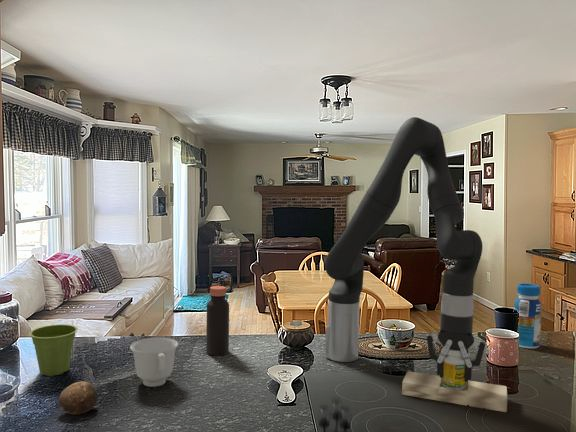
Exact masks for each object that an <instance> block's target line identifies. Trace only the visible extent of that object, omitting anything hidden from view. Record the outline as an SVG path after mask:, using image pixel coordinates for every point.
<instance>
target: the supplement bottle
mask: <svg viewBox="0 0 576 432" xmlns="http://www.w3.org/2000/svg"><path fill="white" fill-rule="evenodd" d="M465 371H466V362H465V359H464V358H463V355H462V352H461V351H458V350H451V349H449V350H448V352H447V354H446V356H445V357H444V359H443V386H444V387H445V388H450V389H456V390H462V389H464V388H465Z"/></svg>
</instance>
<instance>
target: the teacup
mask: <svg viewBox="0 0 576 432" xmlns="http://www.w3.org/2000/svg"><path fill="white" fill-rule="evenodd" d="M178 346H179V342H178V341H177V340H175V339H173V338H169V337H150V338H149V337H148V338H143V339H138V340H136V341H134V342H133V343H132V344H131V345H130V346H129V349H130V350H131V351H132V354H133V360H134V368H135V372H136V375H137V377H138V378H140V379H141V380H142V381H143V382H142V384H143V385H144V386H145V387H150V388H152V387H153V388H154V387H155V388H156V387H160V386H163V385H164V384H165V383H166V381H167V378H168V377H169V376H170V375H171V374H172V371H173V369H174V364H175V354H176V350H177V347H178Z"/></svg>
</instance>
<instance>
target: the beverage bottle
mask: <svg viewBox="0 0 576 432" xmlns="http://www.w3.org/2000/svg"><path fill="white" fill-rule="evenodd" d="M516 287H517V288H516V289H517V290H516V293H517V295H518V297H516V299H515V301H514V304H513V305H514V309H513V311H514V310H517V312H518V313H519V318H518V319H519V322H518V332H519V346H518V347H519V348H523V349H529V350H530V349H532V350H533V349H538V348H539V347H540V346H541V345H540V344H541V327H542V317H543V314H542V311H541V310H542V309H543V307H542V302H541V301H540V299H539V297H540V296H541V286H540V285H538V284H535V283H534V284H532V283H526V282H525V283H518V284H517V286H516Z"/></svg>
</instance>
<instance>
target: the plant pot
mask: <svg viewBox="0 0 576 432" xmlns="http://www.w3.org/2000/svg"><path fill="white" fill-rule="evenodd" d="M77 332H78V327H77V326H76V325H73V324H51V325H44V326H40V327H36V328H34V329H32V330H31V331H30V332H28V335H29V336H30V337H31V341H32V343H33V346H34V349H35V355H36V359H37V365H38V370H39V374H40V375H45V376H47V377H48V376H49V377H52V376H59V375H62V374H64V373H65V372H69V370H70V365H71V360H72V352H73V345H74V340H75V339H76V333H77Z"/></svg>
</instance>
